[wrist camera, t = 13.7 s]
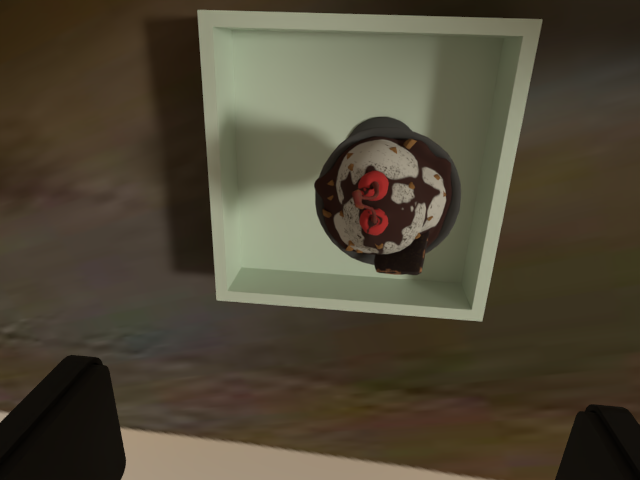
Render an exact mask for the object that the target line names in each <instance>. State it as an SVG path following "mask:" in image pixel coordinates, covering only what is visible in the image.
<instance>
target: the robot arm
mask: <svg viewBox="0 0 640 480" xmlns="http://www.w3.org/2000/svg"><path fill="white" fill-rule="evenodd" d="M125 465H126V457H125V452H124V447H123V441H122V436H121V431H120V425H119V420H118V415H117V409H116V404H115V399H114V393H113V388H112V383H111V377H110V372H109V369H108V367H107V366H104V365H103V364H102V361H101V360H100V359H99V358H96V357H87V356H76V355H70V356H67V357H66V358H64V359H63V360H62V361H61V362H60V363H59V364H58V365H57V366H56V367H55V368H54V369H53V370H52V371H51V372H50V373H49V374H48V375H47V376H46V377H45V378H44V379H43V380H42V381H41V382H40V383H39V384H38V385H37V386H36V387H35V388H34V389H33V390H32V391H31V392H30V393H29V394H28V395H27V396H26V397H25V398H24V399H23V400H22V401H21V402H20V403H19V404H18V405H17V406H16V407H15V408H14V409H13V410H12V411H11V412H10V413H9V414H8V415H7V416H6V417H5V418H4V419H3V420H2V421H1V423H0V480H121V478H122V476H123V473H124V470H125ZM555 480H640V425H639V424H638V422H637V421H636V420H635V418H634V417H633V415H632V414H631V413H630V412H629V411H628V410H627V409H625V408H623V407H615V406H604V405H594V404H593V405H589V406H588V407H587V408H586V410H585V412H583V411H580V412H579V413H577V415H576V418H575V421H574V424H573V427H572V430H571V433H570V436H569V439H568V442H567V445H566V448H565V451H564V454H563V457H562V460H561V463H560V467H559V470H558V473H557V476H556V479H555Z"/></svg>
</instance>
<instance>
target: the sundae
mask: <svg viewBox="0 0 640 480" xmlns="http://www.w3.org/2000/svg"><path fill="white" fill-rule="evenodd" d="M314 188H315V205H316V212H317V216H318V219H319V221H320V224H321V226H322V227H323V229H324V231H325V233H326V234H327V236H328V237H329V238H330V240H331V241H332V242H333V243H334V244H335V245H336V246H337V247H338V248H339V249H340V250H341V251H343V252H344V253H345V254H347V255H348V256H349V257H351V258H353V259H356V260H358V261H361V262H363V263H367V264H371V265H374V266H375V269H376V272H378V273H384V274H393V275H404V274H408V275H418V274H420V273H422V268H423V264H424V259H425V254H426V253H428V252H430V251H431V250H433V249H434V248H435V247H437V246H438V245H439V244H440V243H441V242H442V241H443V240H444V239H445V238H446V237H447V236H448V235H449V233H450V231H451V229H452V228H453V226H454V224H455V222H456V219H457V216H458V214H459V211H460V203H461V183H460V179H459V175H458V171H457V169H456V167H455V164H454V162H453V161H452V159H451V158H450V156H449V154H448V153H447V152H446V151H445V150H444V149H443V148H442V147H440V146H439V145H438V144H437V143H435V142H434V141H433V140H431V139H430V138H428V137H426V136H424V135H421V134H419V133H416V132H414V131H412V130H411V129H410V128H409V127H408V126H407V125H406V124H404V123H403V122H402V121H400V120H397V119H395V118H391V117H374V118H371V119H368V120H366V121H364V122H362V123H361V124H359V125H358V126H357V127H356V128H355V129H354V130H353V131H352V133H351V134H350V135H349V137H348V138H347V139H346V140H344V141H343V142H342V143H340V144H339V145H338V147H337V148H336V149H335V150H334V151H333V152H332V154H331V155H330V157H329V158H328V160H327V161H326V162H325V164H324V165H323V168H322V170H321V173H320V176H319V178H318V179H317V180H316V181H315V183H314Z"/></svg>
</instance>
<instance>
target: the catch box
mask: <svg viewBox="0 0 640 480" xmlns="http://www.w3.org/2000/svg"><path fill="white" fill-rule="evenodd" d="M197 13H198V28H199V43H200V58H201V73H202V88H203V103H204V118H205V133H206V148H207V163H208V178H209V193H210V208H211V223H212V238H213V253H214V268H215V283H216V298H217V300H219V301H232V302H245V303H257V304H270V305H282V306H295V307H308V308H320V309H333V310H345V311H358V312H371V313H383V314H396V315H408V316H421V317H433V318H446V319H459V320H471V321H482V320H483V315H484V310H485V305H486V300H487V295H488V290H489V285H490V280H491V275H492V270H493V265H494V260H495V255H496V250H497V245H498V240H499V235H500V230H501V225H502V220H503V215H504V210H505V205H506V200H507V195H508V190H509V185H510V180H511V175H512V170H513V165H514V160H515V155H516V150H517V145H518V140H519V135H520V130H521V125H522V120H523V115H524V110H525V105H526V100H527V95H528V90H529V85H530V80H531V75H532V70H533V65H534V60H535V55H536V50H537V45H538V40H539V35H540V30H541V25H542V20H543V19H517V18H480V17H443V16H406V15H369V14H332V13H295V12H258V11H221V10H197ZM374 117H391V118H395V119H397V120H400V121H402V122H403V123H404V124H406V125H407V126H408V127H409V128H410V129H411V130H412V131H414V132H416V133H419V134H421V135H424V136H426V137H428V138H430V139H431V140H433V141H434V142H435V143H437V144H438V145H439V146H440V147H442V148H443V149H444V150H445V151H446V152H447V153H448V154H449V156H450V158H451V159H452V161H453V162H454V164H455V167H456V169H457V171H458V175H459V179H460V183H461V203H460V211H459V214H458V216H457V219H456V222H455V224H454V226H453V228H452V229H451V231H450V233H449V235H448V236H447V237H446V238H445V239H444V240H443V241H442V242H441V243H440V244H439V245H438V246H437V247H435V248H434V249H433V250H431V251H430V252H428V253H426V254H425V259H424V264H423V268H422V273H420V274H418V275H408V274H404V275H393V274H384V273H378V272H376V269H375V266H374V265H371V264H367V263H363V262H361V261H358V260H356V259H353V258H351V257H349V256H348V255H347V254H345V253H344V252H343V251H341V250H340V249H339V248H338V247H337V246H336V245H335V244H334V243H333V242H332V241H331V240H330V238H329V237H328V236H327V234H326V233H325V231H324V229H323V227H322V226H321V224H320V221H319V219H318V216H317V212H316V205H315V188H314V183H315V181H316V180H317V179H318V178H319V176H320V173H321V170H322V168H323V165H324V164H325V162H326V161H327V160H328V158H329V157H330V155H331V154H332V152H333V151H334V150H335V149H336V148H337V147H338V145H339V144H340V143H342V142H343V141H344V140H346V139H347V138H348V137H349V135H350V134H351V133H352V131H353V130H354V129H355V128H356V127H357V126H358V125H359V124H361V123H362V122H364V121H366V120H368V119H371V118H374Z"/></svg>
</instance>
